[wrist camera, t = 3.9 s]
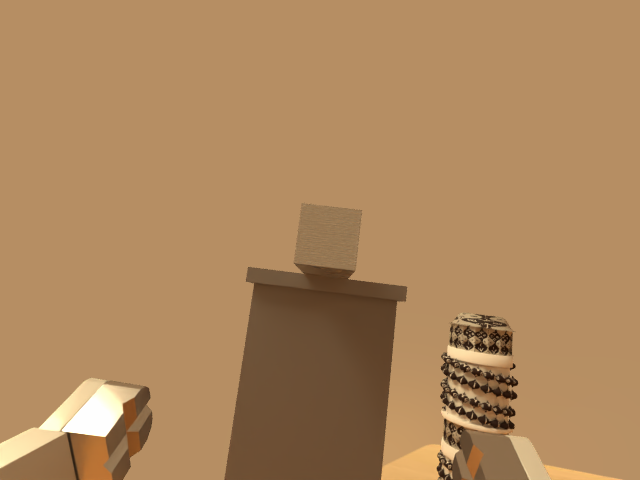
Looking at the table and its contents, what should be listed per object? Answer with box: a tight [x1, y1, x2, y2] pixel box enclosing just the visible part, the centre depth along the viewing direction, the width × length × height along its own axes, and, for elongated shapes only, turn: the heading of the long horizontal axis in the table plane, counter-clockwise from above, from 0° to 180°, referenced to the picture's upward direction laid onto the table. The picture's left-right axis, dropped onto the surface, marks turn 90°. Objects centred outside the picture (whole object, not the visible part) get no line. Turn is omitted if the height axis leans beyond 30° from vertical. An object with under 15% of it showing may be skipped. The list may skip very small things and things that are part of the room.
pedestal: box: [225, 267, 407, 480], centre depth 29 cm, size 11×11×26 cm
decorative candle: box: [437, 313, 518, 480], centre depth 47 cm, size 9×9×25 cm
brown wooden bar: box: [294, 204, 362, 279], centre depth 28 cm, size 20×3×4 cm, turn 179°
